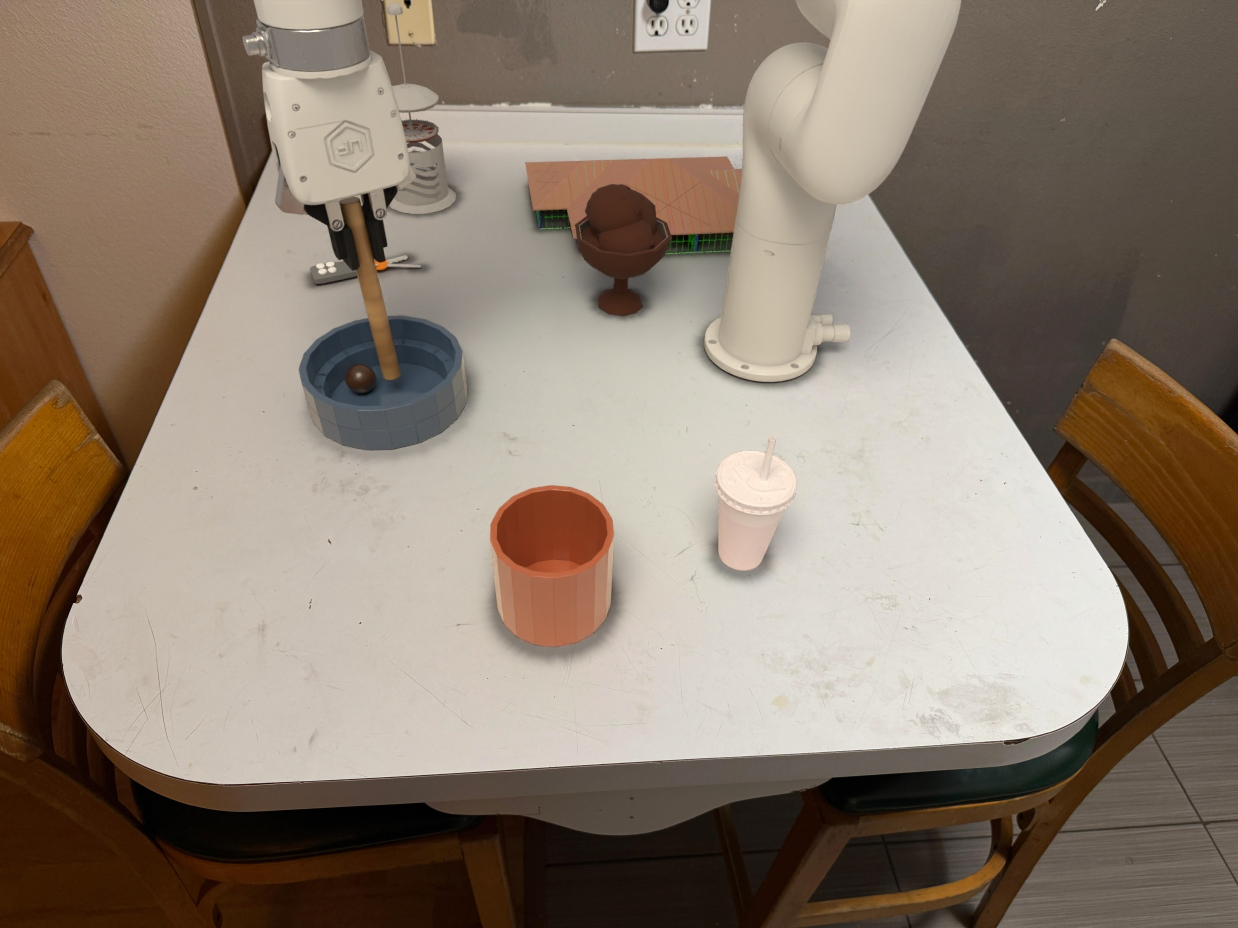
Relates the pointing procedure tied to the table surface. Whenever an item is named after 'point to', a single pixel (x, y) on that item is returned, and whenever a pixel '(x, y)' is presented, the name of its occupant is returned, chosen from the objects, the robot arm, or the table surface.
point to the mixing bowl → (385, 384)
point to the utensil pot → (552, 564)
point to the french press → (426, 188)
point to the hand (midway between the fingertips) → (362, 258)
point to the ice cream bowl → (621, 242)
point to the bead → (360, 378)
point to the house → (646, 190)
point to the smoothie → (751, 504)
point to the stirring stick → (371, 289)
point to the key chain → (348, 269)
